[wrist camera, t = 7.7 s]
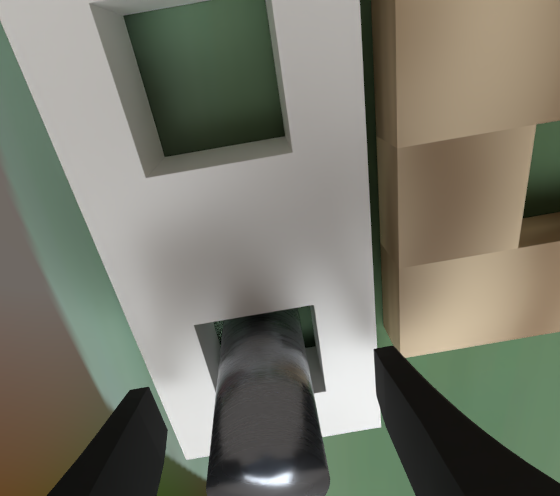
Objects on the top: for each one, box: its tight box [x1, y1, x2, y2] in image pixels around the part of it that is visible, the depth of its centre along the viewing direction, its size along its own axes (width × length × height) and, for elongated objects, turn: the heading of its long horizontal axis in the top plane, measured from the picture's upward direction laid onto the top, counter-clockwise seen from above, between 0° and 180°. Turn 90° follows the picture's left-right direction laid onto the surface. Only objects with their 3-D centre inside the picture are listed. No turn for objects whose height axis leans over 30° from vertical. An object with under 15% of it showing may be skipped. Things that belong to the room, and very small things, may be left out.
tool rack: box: [0, 0, 381, 460], centre depth 12 cm, size 8×18×2 cm, turn 9°
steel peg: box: [206, 308, 330, 496], centre depth 12 cm, size 3×3×7 cm
